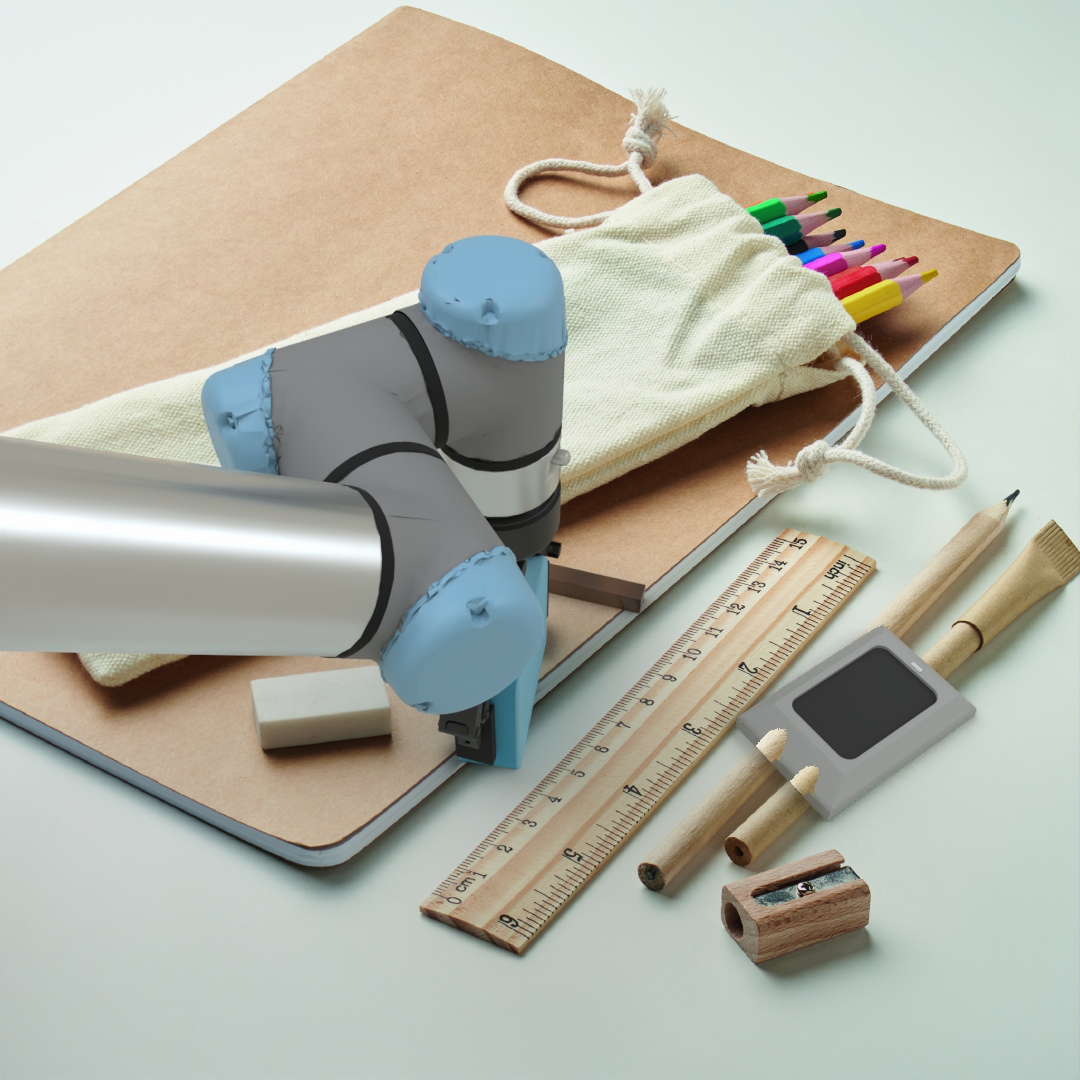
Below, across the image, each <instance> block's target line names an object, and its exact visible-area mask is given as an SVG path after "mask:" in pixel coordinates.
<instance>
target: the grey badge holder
mask: <svg viewBox="0 0 1080 1080" xmlns="http://www.w3.org/2000/svg"><path fill="white" fill-rule="evenodd" d="M881 625H882V626H881ZM881 625H879V626H880V627H879V626H877V627H874V628H873V629H871V630H869V631H870V632H869V631H868V632H869V633H868V632H867V633H865V634H863V635H861V636H860V637H858V638H857V639H855V640H854V641H852V642H851V643H849V644H848V645H846V646H844V647H843V648H841V649H840V650H838V651H837V652H835V653H833V654H832V655H830V656H829V657H827V658H826V659H825V660H822V661H821V662H819V663H818V664H817V665H815V666H813V667H812V668H810V669H809V670H807V671H806V672H804V673H803V674H801V675H799V676H798V677H796V678H795V679H793V680H792V681H790V682H789V683H787V684H785V685H784V686H783V687H781V688H780V689H778V690H776V691H775V692H773V693H772V694H770V695H768V696H767V697H765V698H764V699H763V700H760V701H759V702H758V703H756V704H754V705H753V706H751V707H750V708H748V709H747V710H745V711H744V712H742V713H741V714H739V715H737V717H736V720H735V725H734V726H735V727H736V728H737V729H738V730H739V731H740V733H742V734H743V736H744V737H745V738H746V739H747V740H748V741H749V742H750V743H751V744H752V745H753V746H754V747H755V746H756V745H757V744H758V742H760V740H761V739H762V738H763V737H764V736H765V735H766V734H767V733H768V732H769V731H771V730H775V729H777V728H778V730H779V728H780V729H786V730H784V731H787V734H786V736H787V739H786V743H785V746H784V747H783V751H782V753H781V755H780V760H779V761H780V762H779V761H778V760H777V759H775V760H774V761H773V763H770V764H771V765H772V766H773V767H774V768H775V769H776V770H777V771H778V772H779V773H780V774H781V775H782V776H783V778H785V780H786V781H787V782H788V783H789V781H790V780H792V779H793V778H794V776H795V775H796V774H798V773H799V771H800V770H802V769H804V768H805V767H806V766H808V767H809V766H814V765H815V766H814V767H818V768H819V769H818V770H819V771H818V772H819V775H818V777H817V778H818V780H817V783H816V784H815V788H814V793H813V796H814V797H813V796H812V795H811V794H810V793H809V792H808V793H807V794H805V796H802V798H803V799H805V800H806V802H807V803H808V804H809V805H810V806H811V807H812V808H813V809H814V810H815V811H816V812H817V813H818V815H820V816H821V817H822V819H823V820H825V822H829V821H830V820H831V819H833V818H834V817H836V816H837V815H839V814H840V813H841V812H843V811H844V810H845V809H847V808H848V807H850V806H851V805H852V804H854V803H855V802H856V801H858V800H859V799H861V798H862V797H864V796H865V795H866V794H868V793H869V792H870V791H872V790H874V789H875V788H876V787H877V786H879V785H881V784H882V783H883V782H884V781H886V780H887V779H889V778H890V777H892V776H893V775H894V774H896V773H897V772H898V771H900V770H901V769H902V768H904V767H905V766H907V765H908V764H910V763H911V762H912V761H913V760H915V759H916V758H918V757H919V756H922V754H924V753H925V752H927V750H929V749H930V748H932V747H933V746H935V745H936V744H937V743H939V742H940V741H942V740H943V739H944V738H946V737H948V736H949V735H950V734H951V733H953V732H954V731H956V730H957V729H959V728H960V727H961V726H963V725H964V724H965V723H967V722H968V721H970V720H972V718H974V717H975V715H976V713H977V711H978V710H977V707H976V706H975V705H974V704H973V703H972V702H971V701H970V700H968V699H967V698H966V697H965V696H964V695H963V694H961V693H960V692H959V690H957V689H956V688H955V687H954V686H952V685H951V684H950V683H949V682H948V681H947V680H946V679H945V678H944V677H942V676H941V675H940V674H939V673H938V672H937V671H936V670H935V669H934V668H933V667H931V666H930V665H929V664H928V663H927V662H925V661H924V660H923V658H921V657H920V656H919V655H918V654H916V652H915V651H913V650H912V649H911V648H910V647H909V646H908V645H906V643H904V641H902V640H901V639H900V638H899V637H898V636H896V634H894V633H893V632H892V631H891V630H890V629H889V628H887V627H886V626H885V624H881Z"/></svg>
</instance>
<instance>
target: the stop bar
mask: <svg viewBox="0 0 1080 1080" xmlns="http://www.w3.org/2000/svg"><path fill="white" fill-rule="evenodd" d="M645 593H646V584H643V583H639V582H634V581H630V580H626V579H622V578H617V577H612V576H607V575H604V574H599V573H595V572H590V571H587V570H586V571H585V570H581V569H576V568H574V567H573V568H572V567H568V566H565V565H564V566H563V565H559V564H555V563H550V562H549V594H552V595H556V596H562V597H566V598H570V599H574V600H579V601H583V602H587V603H591V604H596V605H601V606H605V607H609V608H614V609H618V610H621V611H627V612H631V613H636V614H640V613H641V610H642V608H643V603H644V601H645Z"/></svg>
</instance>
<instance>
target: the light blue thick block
mask: <svg viewBox="0 0 1080 1080" xmlns="http://www.w3.org/2000/svg"><path fill="white" fill-rule="evenodd" d="M524 560H526V561H527V568H526V573H525V579H526V581H527V582H528V584H529V586H530V587H531V589H532V591H533V593H534V594H535V596H536V598H537V599H538V601H539V603H540V606H541V608H542V611H543V617H544V632H543V636H542V640H541V643H540V646H539V648H538V650H537V652H536V654H535V655H534V656H533V657H532V658H531V659H530V660H529V661H528V663H527V664H526V666H525V668H524V671H523V672H522V673H521V674H520V675H519V677H517V678H516V679H515V680H514V681H513V682H512V683H511V684H510V685H509V686H507V687H506V688H505V689H504V690H502V691H501V692H500V693H498V694H497V695H495V696H493V697H492V698H491V700H490V704H493V705H494V709H495V735H496V759H495V762H494V765H493V767H500V768H504V769H505V768H506V769H511V770H519V769H521V767H522V763H523V759H524V754H525V749H526V745H527V744H526V743H527V739H528V735H529V729H530V724H531V720H532V713H533V710H534V709H533V708H534V704H535V700H536V695H537V688H538V686H539V685H538V683H539V678H540V674H541V669H542V665H543V660H544V655H545V649H546V644H547V636H548V635H547V634H548V633H547V631H548V629H547V628H548V626H547V625H548V618H547V582H548V560H549V559H548V557H547V556H541V555H533V556H531V557H529V558H526V559H524ZM458 759H459V761H461V762H466V763H471V764H478V765H485V766H489V765H488V764H484V763H480V762H477V761H473V760H469V759H465V758H461V757H458Z"/></svg>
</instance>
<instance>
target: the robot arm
mask: <svg viewBox="0 0 1080 1080" xmlns="http://www.w3.org/2000/svg"><path fill="white" fill-rule="evenodd" d="M564 287H565V286H564V281H563V278H562V274H561V272H560V269H559V268H558V267H557V265H556V263H555V261H554V260H553V259H551V258H550V256H549V255H547V253H545V252H544V251H543V250H542V249H540V248H538V247H536V246H535V245H533V244H532V243H529V242H527V241H525V240H522V239H520V238H515V237H511V236H504V235H494V234H488V235H487V234H485V235H473V236H468V237H465V238H461V239H458V240H455V241H453V242H451V243H449V244H447V245H445V247H444V248H443V249H442V251H441V252H440V253H439V254H435V255H433V256H431V258H430V259H428V261H427V262H426V264H425V266H424V268H423V270H422V273H421V278H420V288H419V292H418V293H417V297H418V299H417V300H418V301H419V302H417V303H415V304H412V305H407V306H405V307H402V308H398V309H396V310H394V311H393V312H392V313H391V314H387V315H384V316H379V317H377V318H373V319H371V320H370V319H369V320H368V321H363V322H360V323H357V324H355V325H350V326H348V327H345V328H342V329H338V330H335V331H331V332H329V333H325V334H321V335H318V336H316V337H312V338H307V339H305V340H302V341H299V342H296V343H291V344H288V345H286V346H282V347H279V348H277V347H271V348H267V350H266V351H265V352H264V353H262V354H260V355H257V356H254V357H252V358H249V359H246V360H243V361H241V362H238V363H234V364H233V365H231V366H228V367H225V368H223V369H221V370H217V371H215V372H214V373H212V374H210V375H209V377H208V378H207V379H206V380H205V381H204V384H203V385H202V388H201V393H200V403H201V409H202V413H203V418H204V421H205V425H206V428H207V431H208V434H209V437H210V441H211V443H212V446H213V449H214V451H215V454H216V457H217V459H218V462H219V464H220V466H216V465H215V466H214V465H208V464H201V463H194V462H187V461H180V460H174V459H166V458H159V457H153V456H145V455H138V454H132V453H124V452H117V451H110V450H102V449H96V448H89V447H83V446H82V447H81V446H75V445H69V444H68V445H67V444H61V443H54V442H46V441H39V440H32V439H26V438H18V437H11V436H4V435H0V652H14V653H15V652H16V653H17V652H18V653H19V652H21V653H22V652H24V653H74V654H75V653H76V654H77V653H83V654H131V655H132V654H133V655H134V654H137V655H138V654H139V655H140V654H141V655H146V654H147V655H193V656H194V655H195V656H196V655H199V656H201V655H203V656H206V655H207V656H250V657H251V656H252V657H253V656H256V657H258V656H259V657H310V658H311V657H312V658H315V657H316V658H324V659H325V658H326V659H342V660H369V661H370V660H371V661H373V662H374V663H376V664H377V665H378V668H379V673H380V677H381V679H382V681H383V682H384V683H385V684H388V685H389V686H390V688H391V689H392V691H393V692H394V693H395V695H396V696H397V697H398V698H399V699H400V700H401V701H402V702H403V703H404V704H405V705H407V706H409V707H410V708H412V709H413V708H414V709H416V710H417V711H418V712H419V713H422V714H427V715H439V719H438V722H437V726H438V727H437V730H438V732H439V733H442V734H446V735H450V736H454V744H455V756H456V757H458V758H459V757H461V758H465V759H469V760H473V761H477V762H480V763H484V764H483V765H485V764H488V765H487V766H493V765H494V762H495V759H496V735H495V709H494V705H493V704H490V700H491V698H492V697H493V696H495V695H497V694H498V693H500V692H501V691H502V690H504V689H505V688H506V687H507V686H509V685H510V684H511V683H512V682H513V681H514V680H515V679H516V678H517V677H519V675H520V674H521V673H522V672H523V671H524V668H525V666H526V664H527V663H528V661H529V660H530V659H531V658H532V657H533V656H534V655H535V654H536V652H537V650H538V648H539V646H540V643H541V640H542V636H543V632H544V617H543V611H542V608H541V606H540V603H539V601H538V599H537V598H536V596H535V594H534V593H533V591H532V589H531V587H530V586H529V584H528V582H527V581H526V579H525V573H526V568H527V561H526V560H524V559H526V558H529V557H531V556H533V555H541V556H545V557H547V558H553V559H557V560H559V558H560V556H561V552H562V547H563V546H562V545H563V544H562V542H559V541H555V540H554V538H555V536H556V535H557V532H558V530H559V526H560V522H561V505H562V503H561V502H562V501H561V500H562V481H561V474H562V473H561V471H562V467H567V465H568V464H570V463H571V457H572V456H571V453H570V451H569V450H567V449H564V448H562V447H561V441H562V431H563V430H562V429H563V418H564V417H563V412H564V390H565V389H564V388H565V366H566V361H565V360H566V349H567V346H568V342H569V332H568V329H567V313H566V297H565V290H564V289H565V288H564ZM547 560H548V582H547V619H548V618H549V608H550V607H549V606H550V605H549V600H550V599H549V598H550V593H549V563H550V560H549V559H547ZM493 767H494V766H493Z"/></svg>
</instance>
